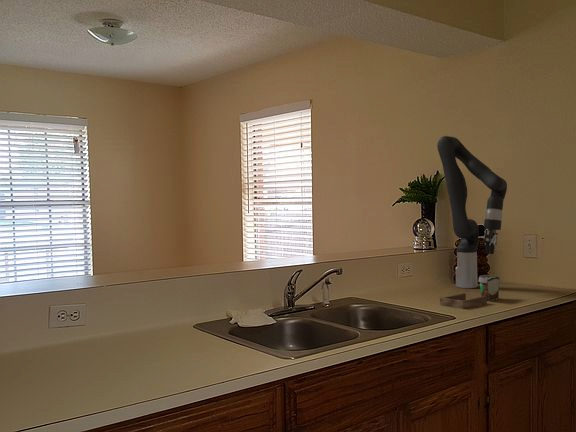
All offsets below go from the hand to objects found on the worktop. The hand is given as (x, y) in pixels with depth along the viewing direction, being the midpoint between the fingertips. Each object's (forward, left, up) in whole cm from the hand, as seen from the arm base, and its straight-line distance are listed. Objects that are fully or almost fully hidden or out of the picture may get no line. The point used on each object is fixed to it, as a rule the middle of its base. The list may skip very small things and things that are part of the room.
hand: (489, 253), depth 249 cm
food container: (+11, -19, -18) cm, 28 cm away
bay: (+11, -35, -18) cm, 41 cm away
